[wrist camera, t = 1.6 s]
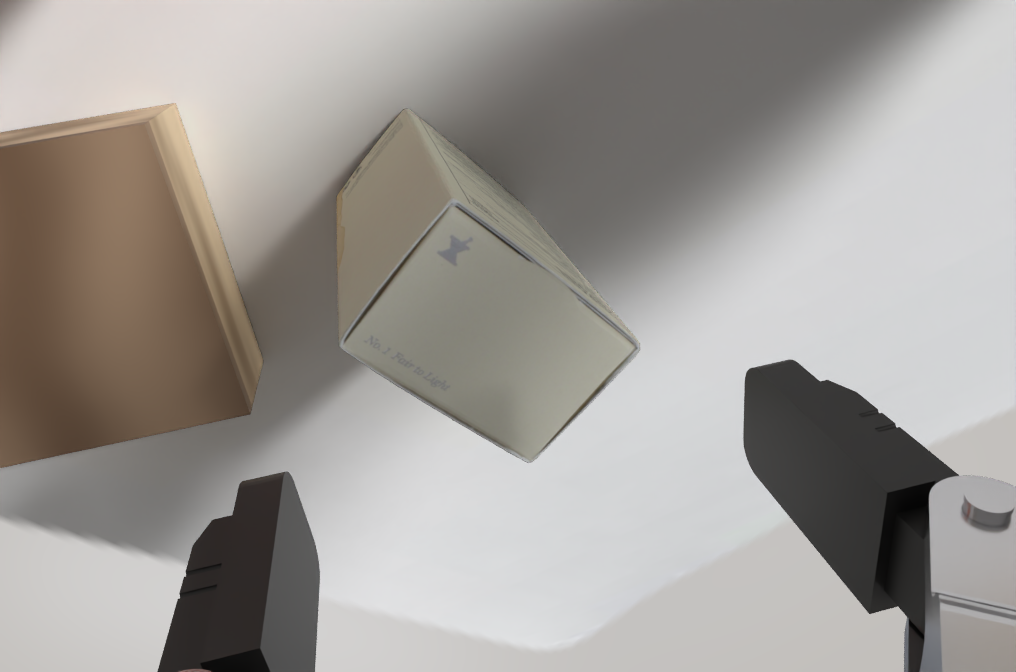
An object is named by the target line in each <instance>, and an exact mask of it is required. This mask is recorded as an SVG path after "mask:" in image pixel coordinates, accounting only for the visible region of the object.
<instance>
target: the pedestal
mask: <svg viewBox="0 0 1016 672" xmlns="http://www.w3.org/2000/svg"><path fill="white" fill-rule="evenodd" d="M262 365H263V358H262V355H261V352H260V349H259V346H258V343H257V340H256V338H255V335H254V332H253V329H252V326H251V323H250V320H249V317H248V314H247V311H246V308H245V305H244V302H243V299H242V297H241V294H240V291H239V288H238V285H237V282H236V279H235V276H234V273H233V270H232V267H231V264H230V261H229V258H228V255H227V253H226V250H225V247H224V244H223V241H222V238H221V235H220V232H219V229H218V226H217V223H216V220H215V217H214V214H213V212H212V209H211V206H210V203H209V200H208V197H207V194H206V191H205V188H204V185H203V182H202V179H201V176H200V173H199V171H198V168H197V165H196V162H195V159H194V156H193V153H192V150H191V147H190V144H189V141H188V138H187V135H186V132H185V129H184V127H183V124H182V121H181V118H180V115H179V112H178V109H177V106H176V103H173V104H167V105H161V106H155V107H150V108H144V109H138V110H132V111H126V112H120V113H114V114H108V115H102V116H96V117H90V118H84V119H78V120H72V121H66V122H60V123H54V124H48V125H42V126H36V127H30V128H24V129H19V130H13V131H7V132H1V133H0V468H2V467H7V466H12V465H16V464H21V463H26V462H30V461H35V460H40V459H44V458H49V457H54V456H58V455H63V454H68V453H72V452H77V451H82V450H86V449H91V448H96V447H100V446H105V445H109V444H114V443H119V442H123V441H128V440H133V439H137V438H142V437H147V436H151V435H156V434H161V433H165V432H170V431H175V430H179V429H184V428H189V427H193V426H198V425H203V424H207V423H212V422H217V421H221V420H226V419H231V418H235V417H240V416H244V415H249V414H251V410H252V406H253V402H254V397H255V393H256V389H257V385H258V381H259V377H260V373H261V369H262Z"/></svg>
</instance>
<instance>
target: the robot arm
mask: <svg viewBox="0 0 1016 672" xmlns="http://www.w3.org/2000/svg"><path fill="white" fill-rule="evenodd" d="M743 438H744V449H745V453H746V457H747V460H748V462H749V465H750V467H751V469H752V470H753V472H754V474H755V475H756V476H757V477H758V479H759V480H760V481H761V482H762V484H763V485H764V486H765V487H766V488H767V490H768V491H769V492H770V493H771V494H772V496H773V497H774V498H775V499H776V501H777V502H778V503H779V504H780V505H781V507H782V508H783V509H784V510H785V512H786V513H787V514H788V515H789V516H790V518H791V519H792V520H793V521H794V523H795V524H796V525H797V526H798V527H799V529H800V530H801V531H802V532H803V533H804V535H805V536H806V537H807V538H808V540H809V541H810V542H811V543H812V544H813V546H814V547H815V548H816V549H817V551H818V552H819V553H820V554H821V555H822V557H823V558H824V559H825V560H826V561H827V563H828V564H829V565H830V566H831V568H832V569H833V570H834V571H835V572H836V574H837V575H838V576H839V577H840V579H841V580H842V581H843V582H844V583H845V585H846V586H847V587H848V588H849V589H850V591H851V592H852V593H853V594H854V596H855V597H856V598H857V599H858V600H859V602H860V603H861V604H862V605H863V607H864V608H865V609H866V610H867V611H868V613H869V614H871V613H875V612H879V611H882V610H886V609H890V608H894V607H897V606H898V607H899V608H900V609H901V610H902V611H903V612H904V613H905V615H906V616H907V621H906V626H905V635H904V636H905V637H904V672H1016V487H1015V486H1013V485H1011V484H1008V483H1006V482H1003V481H1000V480H996V479H992V478H988V477H982V476H970V475H968V476H967V475H963V476H959V475H958V474H957V473H955V472H954V471H953V470H952V469H950V468H949V467H948V466H947V465H946V464H944V463H943V462H942V461H941V460H939V459H938V458H937V457H936V456H935V455H933V454H932V453H931V452H930V451H928V450H927V449H926V448H925V447H923V446H922V445H921V444H920V443H919V442H917V441H916V440H915V439H914V438H912V437H911V436H910V435H909V434H907V433H906V432H905V431H904V430H903V429H901V428H900V427H898V428H896V426H895V423H894V422H893V421H891V420H890V419H889V418H888V417H887V416H885V415H884V414H883V413H879V412H878V409H877V408H875V407H874V406H873V405H872V404H870V403H869V402H868V401H867V400H866V399H864V398H863V397H862V396H861V395H859V394H858V393H857V392H855V391H852V390H850V389H848V388H845V387H843V386H841V385H838V384H836V383H833V382H831V381H829V380H825V381H821V382H820V381H819V380H817V379H816V378H815V377H814V376H813V375H812V374H810V373H809V372H808V371H807V370H806V369H805V368H803V367H802V366H801V365H800V364H799V363H797V362H796V361H794V360H786V361H781V362H777V363H772V364H768V365H763V366H759V367H755V368H750V369H749V370H748V371H747V373H746V377H745V397H744V437H743ZM319 583H320V571H319V561H318V555H317V550H316V546H315V542H314V539H313V536H312V533H311V530H310V527H309V524H308V521H307V518H306V516H305V513H304V510H303V507H302V504H301V501H300V498H299V495H298V492H297V489H296V487H295V484H294V481H293V479H292V476H291V475H290V473H289V472H282V473H278V474H273V475H269V476H264V477H260V478H255V479H251V480H246V481H242V482H241V483H240V485H239V488H238V493H237V497H236V502H235V506H234V511H233V515H232V516H227V517H223V518H219V519H214V520H212V521H211V523H210V524H209V525H208V527H207V528H206V529H205V530H204V532H203V533H202V534H201V536H200V537H199V538H198V540H197V541H196V542H195V544H194V545H193V547H192V551H191V554H190V558H189V561H188V565H187V569H186V577H184V579H183V583H182V586H181V590H180V599H178V601H177V604H176V608H175V611H174V615H173V619H172V623H171V626H170V629H169V633H168V636H167V640H166V644H165V647H164V651H163V655H162V658H161V661H160V665H159V669H158V672H315V658H316V640H317V621H318V602H319Z"/></svg>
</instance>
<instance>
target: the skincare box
mask: <svg viewBox="0 0 1016 672" xmlns="http://www.w3.org/2000/svg"><path fill="white" fill-rule="evenodd" d="M336 201H337V278H338V279H337V290H338V341H339V347H340V348H341V349H342V350H344V351H345V352H346V353H348V354H349V355H351V356H352V357H354V358H355V359H357V360H358V361H360V362H361V363H363V364H364V365H366V366H367V367H369V368H370V369H372V370H373V371H374V372H376V373H377V374H379V375H381V376H382V377H384V378H385V379H387V380H389V381H390V382H392V383H393V384H395V385H396V386H398V387H400V388H401V389H403V390H405V391H406V392H408V393H409V394H411V395H413V396H414V397H416V398H417V399H419V400H421V401H422V402H424V403H425V404H427V405H429V406H430V407H432V408H434V409H436V410H438V411H439V412H441V413H442V414H444V415H446V416H447V417H449V418H451V419H452V420H453V421H456V422H457V423H459V424H461V425H462V426H464V427H466V428H468V429H469V430H471V431H473V432H474V433H476V434H477V435H479V436H481V437H483V438H485V439H486V440H488V441H490V442H492V443H493V444H495V445H496V446H498V447H500V448H502V449H504V450H505V451H507V452H508V453H510V454H512V455H514V456H516V457H518V458H520V459H521V460H523V461H525V462H527V463H530V462H533V461H534V460H535V459H537V458H538V457H539V455H540V454H541V453H542V452H544V451H545V450H546V449H547V447H548V446H549V445H550V444H551V443H552V442H553V441H554V440H555V439H556V438H557V437H558V436H559V435H560V434H561V433H562V432H563V431H564V430H565V429H566V428H567V427H568V426H569V425H570V424H571V423H572V422H573V421H574V420H575V419H576V418H577V417H578V416H579V415H580V414H581V413H582V412H583V411H584V410H585V409H586V408H587V407H588V405H589V404H591V403H592V402H593V401H594V400H595V399H596V397H597V396H598V395H599V394H600V393H601V392H602V391H603V390H604V389H605V388H606V387H607V386H608V385H609V384H610V383H611V382H612V381H613V379H614V378H615V377H616V376H617V375H618V374H619V373H620V372H621V371H622V370H623V369H624V368H625V367H626V366H627V365H628V364H629V363H630V362H631V361H632V360H633V358H634V357H635V356H636V355H637V354H638V353H639V351H640V343H639V342H638V340H637V339H636V338H635V336H634V335H633V334H632V333H631V332H630V331H629V329H628V328H627V327H626V326H625V325H624V323H623V322H622V321H621V320H620V319H619V318H618V316H617V315H616V314H615V313H614V312H613V311H612V309H611V308H610V307H609V306H608V305H607V303H606V302H605V301H604V300H603V299H602V297H601V296H600V295H599V294H598V293H597V292H596V291H595V289H594V288H593V287H592V286H591V284H590V283H589V282H588V281H587V280H586V279H585V277H584V276H583V275H582V274H581V273H580V272H579V271H578V269H577V268H576V267H575V266H574V265H573V263H572V262H571V261H570V260H569V259H568V258H567V256H566V255H565V254H564V253H563V252H562V250H561V249H560V248H559V247H558V246H557V244H556V243H555V242H554V241H553V240H552V238H551V237H550V236H549V235H548V234H547V233H546V231H545V230H544V229H543V228H542V227H541V225H540V224H539V223H538V222H537V221H536V219H535V218H534V217H533V216H532V215H531V214H530V212H529V211H528V210H527V209H526V208H525V206H524V205H522V204H521V203H520V202H519V201H518V200H517V199H516V198H514V197H513V196H512V195H511V194H510V193H509V192H508V191H507V190H505V189H504V188H503V187H502V186H501V185H500V184H499V183H497V182H496V181H495V180H494V179H493V178H492V177H491V176H489V175H488V174H487V173H486V172H485V171H484V170H482V169H481V168H480V167H479V166H478V165H477V164H475V163H474V162H473V161H472V160H471V159H469V158H468V157H467V156H466V155H465V154H463V153H462V152H461V151H460V150H459V149H458V148H456V147H455V146H454V145H453V144H452V143H450V142H449V141H448V140H447V139H445V138H444V137H443V136H442V135H441V134H439V133H438V132H437V131H436V130H434V129H433V128H432V127H431V126H429V125H428V124H427V123H426V122H424V121H423V120H422V119H421V118H419V117H418V116H417V115H416V114H414V113H413V112H412V111H411V110H409V109H404V110H402V112H401V113H400V114H399V115H398V117H397V118H396V119H395V120H394V122H393V123H392V124H391V125H390V126H389V128H388V129H387V130H386V131H385V133H384V134H383V135H382V136H381V138H380V139H379V140H378V141H377V143H376V144H375V145H374V147H373V148H372V149H371V150H370V152H369V153H368V154H367V156H366V157H365V158H364V159H363V161H362V162H361V163H360V165H359V166H358V167H357V169H356V170H355V171H354V173H353V174H352V175H351V177H350V178H349V180H348V181H347V182H346V184H345V185H344V187H343V188H342V189H341V191H340V192H339V194H338V195H337V199H336Z"/></svg>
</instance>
